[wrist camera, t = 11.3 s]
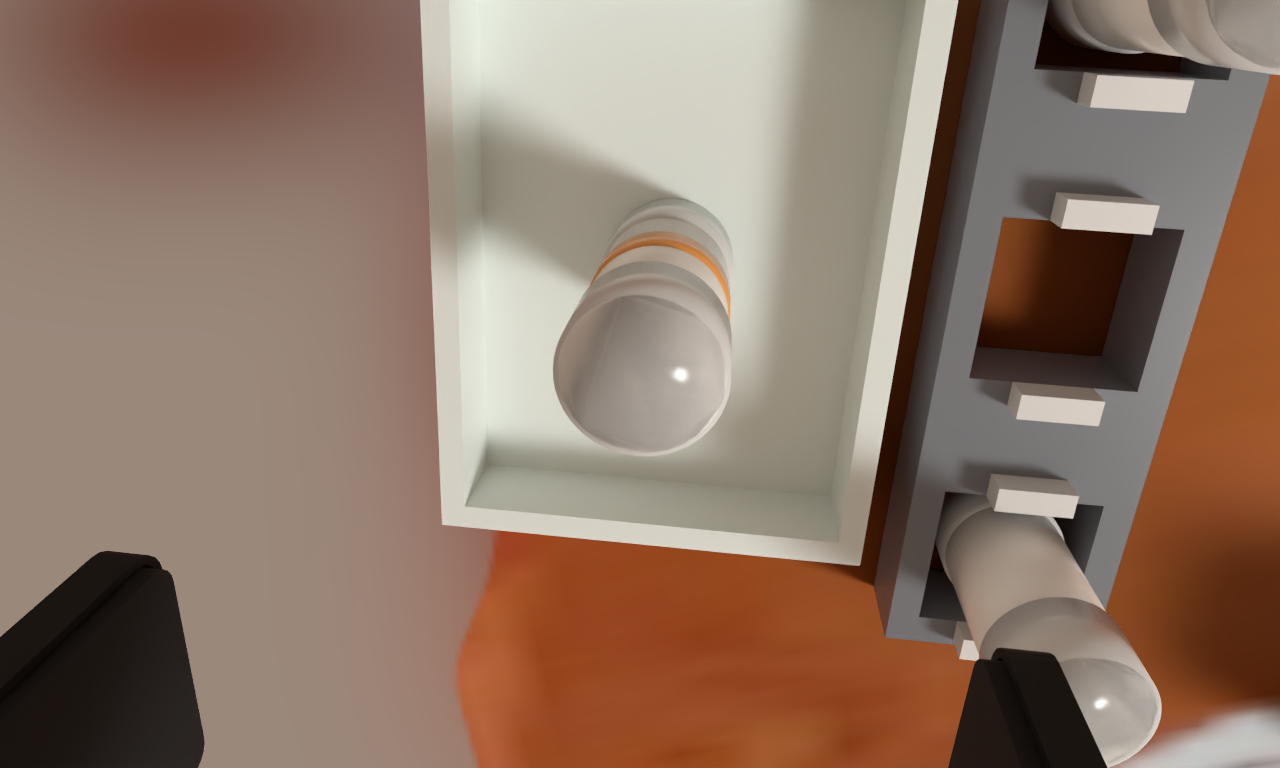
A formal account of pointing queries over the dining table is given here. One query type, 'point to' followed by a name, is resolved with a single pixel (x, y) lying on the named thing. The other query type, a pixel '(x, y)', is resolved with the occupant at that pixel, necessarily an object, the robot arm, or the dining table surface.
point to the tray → (728, 188)
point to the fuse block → (1043, 381)
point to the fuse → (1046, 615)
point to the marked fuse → (652, 334)
